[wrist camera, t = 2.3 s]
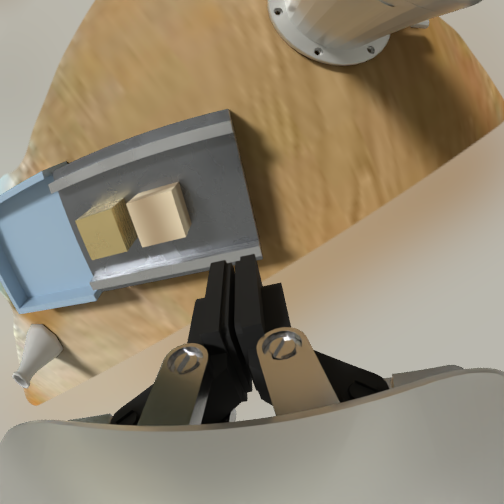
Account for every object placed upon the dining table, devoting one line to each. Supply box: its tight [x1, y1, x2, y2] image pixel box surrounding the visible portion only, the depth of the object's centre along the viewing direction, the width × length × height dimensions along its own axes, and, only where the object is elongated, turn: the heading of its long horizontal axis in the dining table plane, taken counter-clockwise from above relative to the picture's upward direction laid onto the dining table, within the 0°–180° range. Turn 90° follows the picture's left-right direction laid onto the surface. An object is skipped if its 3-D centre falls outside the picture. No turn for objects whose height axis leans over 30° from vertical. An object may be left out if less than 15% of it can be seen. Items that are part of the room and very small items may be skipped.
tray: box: [0, 161, 102, 314], centre depth 28 cm, size 15×15×5 cm
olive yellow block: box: [75, 198, 138, 260], centre depth 24 cm, size 4×4×3 cm
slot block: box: [48, 109, 263, 292], centre depth 26 cm, size 18×14×5 cm
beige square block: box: [126, 182, 192, 248], centre depth 24 cm, size 4×4×3 cm
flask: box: [12, 324, 63, 388], centre depth 33 cm, size 7×7×10 cm
